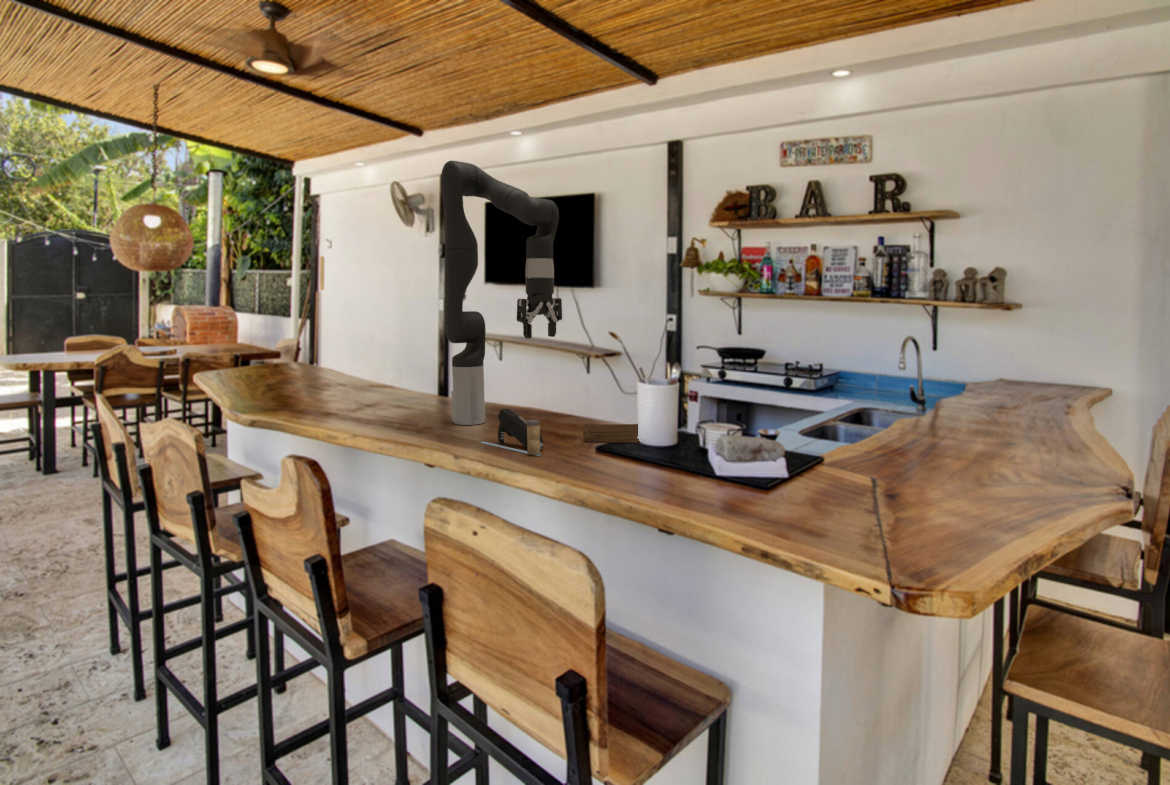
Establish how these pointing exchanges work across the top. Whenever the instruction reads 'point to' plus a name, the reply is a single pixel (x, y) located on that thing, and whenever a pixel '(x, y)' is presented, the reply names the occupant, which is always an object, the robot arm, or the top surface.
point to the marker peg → (533, 437)
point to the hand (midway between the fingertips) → (540, 337)
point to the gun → (513, 427)
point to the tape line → (507, 448)
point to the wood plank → (611, 433)
